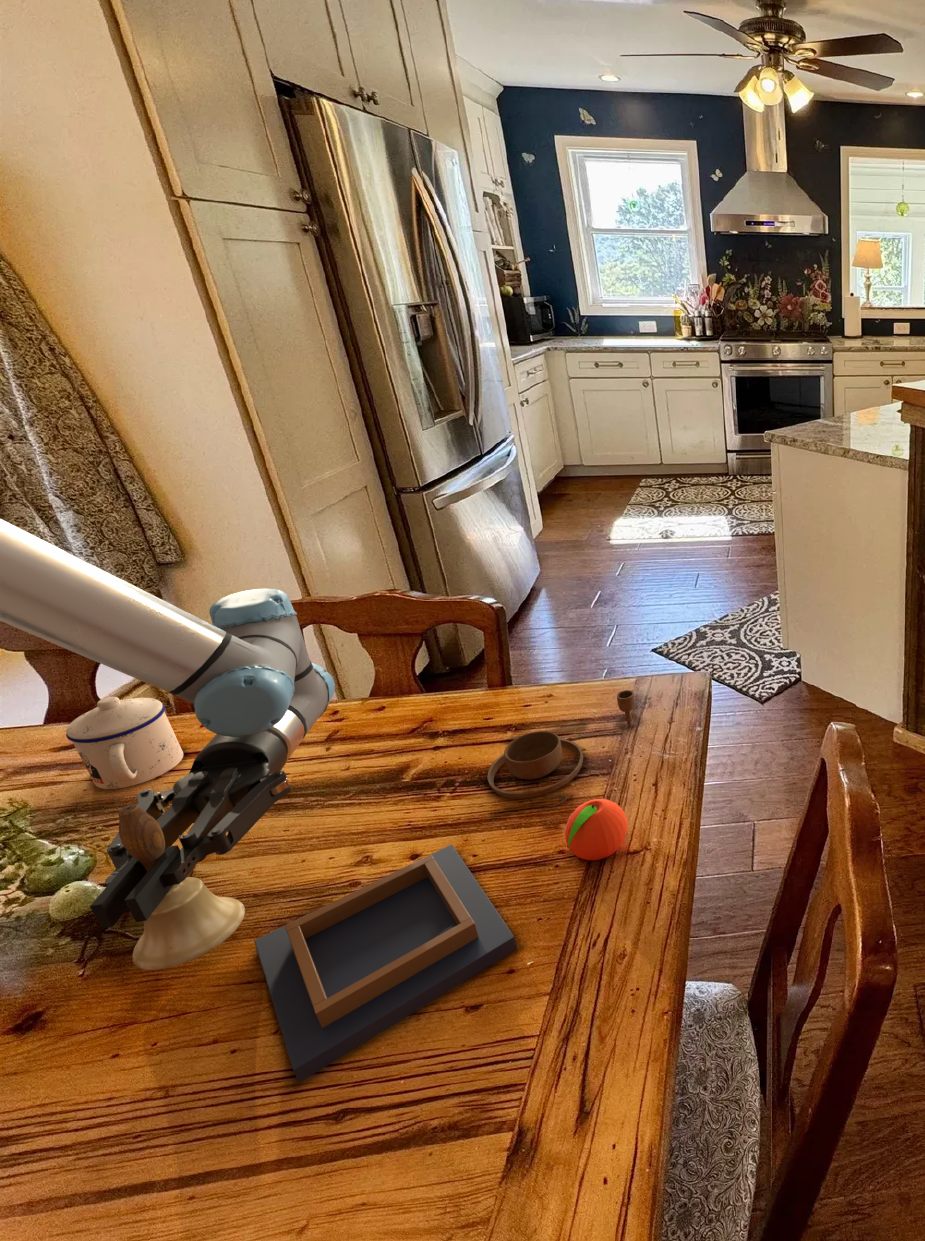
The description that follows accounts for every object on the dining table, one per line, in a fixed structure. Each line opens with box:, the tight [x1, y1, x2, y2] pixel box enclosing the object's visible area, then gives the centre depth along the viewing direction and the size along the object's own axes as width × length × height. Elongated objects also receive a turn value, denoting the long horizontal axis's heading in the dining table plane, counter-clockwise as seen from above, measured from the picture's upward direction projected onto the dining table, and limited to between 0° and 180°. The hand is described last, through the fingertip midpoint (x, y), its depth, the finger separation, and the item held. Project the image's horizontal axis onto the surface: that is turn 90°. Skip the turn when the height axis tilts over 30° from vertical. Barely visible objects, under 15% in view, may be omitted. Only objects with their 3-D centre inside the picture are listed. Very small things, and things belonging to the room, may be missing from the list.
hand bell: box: [118, 803, 246, 971], centre depth 67 cm, size 8×8×16 cm
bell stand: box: [254, 843, 518, 1083], centre depth 71 cm, size 18×18×4 cm
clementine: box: [564, 798, 628, 861], centre depth 84 cm, size 8×7×7 cm
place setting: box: [487, 689, 636, 808], centre depth 98 cm, size 18×20×6 cm
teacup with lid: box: [65, 696, 184, 790], centre depth 92 cm, size 12×9×12 cm
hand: (119, 913), depth 62 cm, fingers closed on hand bell, 2 cm apart
